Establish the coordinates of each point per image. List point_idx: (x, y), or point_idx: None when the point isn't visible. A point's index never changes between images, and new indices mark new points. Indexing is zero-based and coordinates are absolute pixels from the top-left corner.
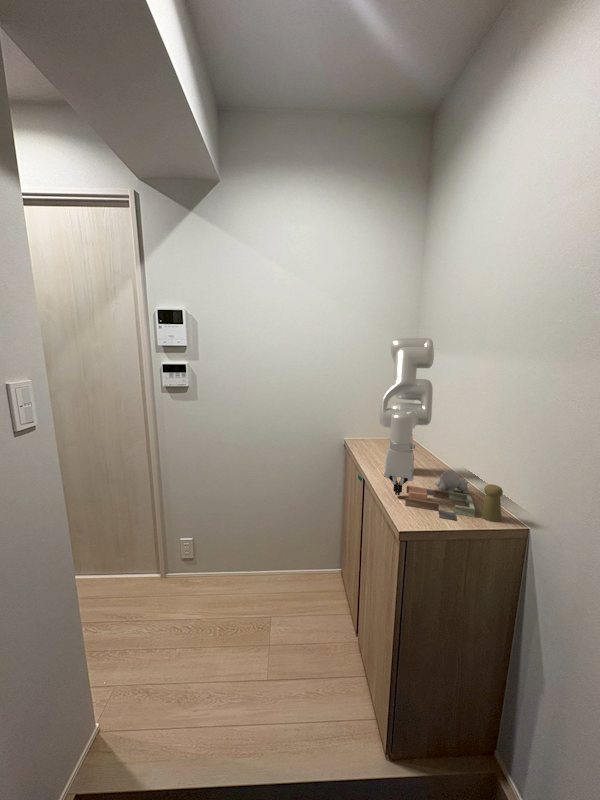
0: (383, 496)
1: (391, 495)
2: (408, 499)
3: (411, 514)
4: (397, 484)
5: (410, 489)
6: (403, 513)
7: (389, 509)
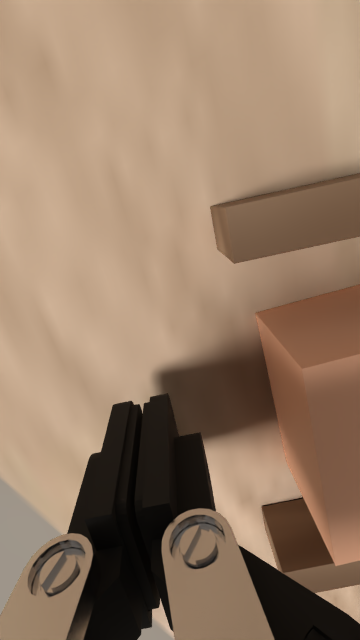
0: (30, 477)
1: (88, 414)
2: (315, 590)
3: None
4: (145, 589)
5: (338, 477)
6: None
7: (170, 631)
